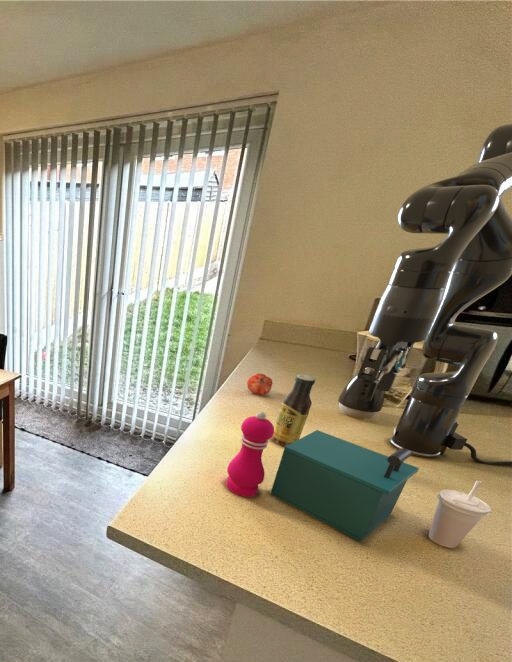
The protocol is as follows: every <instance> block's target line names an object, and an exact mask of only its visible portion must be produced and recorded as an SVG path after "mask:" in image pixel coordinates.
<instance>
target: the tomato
mask: <svg viewBox="0 0 512 662" xmlns="http://www.w3.org/2000/svg"><path fill="white" fill-rule="evenodd" d="M246 385H247V389H248V391H249V392H250V393H252V394H255V395H262V396H263V395H264V396H265V395H266V394H268V393H269V392H270V391H271V390H272V386H273V379H272V378H271V377H269V376H267V375H266V374H264V373H260V372H259V373H254V374H252V376H250V377H248V379H247V381H246Z"/></svg>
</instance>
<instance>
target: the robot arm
mask: <svg viewBox="0 0 512 662" xmlns="http://www.w3.org/2000/svg"><path fill="white" fill-rule="evenodd" d="M478 154H479V155H478V158H477V162H476V163H474V164H473V165H471V166H469V167H468V168H466V169H464V170H463V171H461V172H460V173H459V174H457V175H455V176H451V177H448V178H444V179H442V180H437V181H435V182H432V183H429V184H427V185H425V186H423V187H420V188H418V189H417V190H416V191H414V192H413V193H411V194H410V195H409V196H408V197H407V198H406V199H405V200H404V202H403V203H402V204H401V206H400V208H399V210H398V212H397V218H396V219H397V221H396V222H397V224H398V226H399V227H400V229H402V230H403V231H405V232H406V233H411V234H435V235H436V234H437V235H446V234H447V235H446V237H445V238H444V239H443V240H442V241H441V242H439V243H438V244H436V245H435V246H430V247H421V248H413V249H412V248H411V249H407V250H404V251H402V252H401V253H400V254H399V255H398V257H397V259H396V261H395V264H394V266H393V270H392V272H391V274H390V277H389V279H388V284H387V286H386V287H385V289H384V291H383V293H382V295H381V297H380V299H379V303H378V305H377V308H376V310H375V313H374V315H373V318H372V322H371V323H370V327H369V330H368V333H369V334H370V336H372V337H374V338H378V339H379V341H378V343H377V345H374V346H373V347H372V346H369V347H368V348H367V350H366V353H365V356H364V358H363V361H362V363H361V365H360V368H359V371H358V372H357V373H358V375H357V378H359V379H361V383H360V386H359V388H358V391H357V394H356V398H357V399H361V400H364V401H370V400H372V398H373V395H374V393H375V390H376V389H378V390H382V391H385V392H389V391H391V389H392V387H393V384H394V382H395V380H396V377H397V375H398V374H400V372H402V369H405V368H406V366H407V362H408V360H409V357H410V355H411V352H412V350H413V348H414V345H415V344H416V343H420V342H423V344H422V348H421V353H422V357H423V358H425V359H427V360H430V361H434V362H439V363H442V364H443V363H444V364H448V365H453V366H457V367H459V368H458V369H457V370H454V371H448V372H426V373H422V374H420V375H419V376H418V377H417V379H416V382H415V384H414V386H413V387H412V391H411V392H410V395H409V398H408V399H407V402H406V403H405V404H406V405H405V406H404V409H403V411H402V414H401V416H400V418H399V421H398V422H397V425H396V426H395V427H394V429H393V431H392V433H393V435H392V436H391V438H390V440H389V443H390V445H391V446H392V447H394V449H395V448H396V449H397V450H399V449H401V448H405V449H408V450H409V451H410V452H411V455H413V456H415V457H421V458H428V459H429V458H430V459H434V458H438V457H439V456H444V454H445V453H446V451H447V448H448V449H449V450H451V451H452V450H453V451H454V450H456V451H462V450H463V449H464V447H465V448H467V449H468V450H469V451H470V457H471V459H472V460H473V461H475V462H476V463H478V464H485V465H491V466H512V461H509V460H508V461H504V460H503V461H486V460H483V459H481V458H478V456H477V450H476V448H475V447H474V446H473V445H472V444H470V443H468V442H467V441H468V438H466V437H464V436H462V435H460V434H459V433H457V432H456V431H457V428H458V427H459V422H458V421H457V419H458V417H459V415H460V414H461V411H462V409H463V407H464V405H465V403H466V400H467V399H468V397H469V395H470V393H471V391H472V389H473V387H474V386H475V384H476V382H477V380H478V378H479V376H480V374H481V372H482V370H483V369H484V367H485V365H486V363H487V362H488V360H489V359H490V356H491V355H492V354H493V352H494V350H495V348H496V346H497V344H498V340H499V334H498V333H497V331H495V330H492V329H489V328H481V327H475V326H469V325H468V326H467V325H462V324H456V323H455V322H456V319H457V317H458V316H459V315H460V313H462V312H463V311H464V310H466V309H467V308H468V307H470V306H471V305H472V304H473V303H475V302H477V301H478V300H479V299H481V298H483V297H484V296H486V295H487V294H489V293H491V292H492V291H494V290H495V289H497V288H498V287H499V286H501V285H503V284H504V283H505V282H506V281H507V280H509V278H511V276H512V217H511V215H510V214H509V212H508V210H507V209H506V205H505V204H504V201H503V196H504V195H506V194H508V193H509V192H511V191H512V123H506V124H501V125H499V126H497V127H496V128H494V129H492V131H491V132H490V133H489V135H487V137H486V138H485V140H484V142H483V144H482V146H481V149H480V152H479V153H478ZM370 371H374V373H373V375H371V374H369V372H370Z"/></svg>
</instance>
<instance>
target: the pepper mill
mask: <svg viewBox="0 0 512 662" xmlns="http://www.w3.org/2000/svg"><path fill="white" fill-rule="evenodd" d="M240 431H241V433H242V434H241V435H240V437H241V438H240V443H241V447H240V449H239V452H238V453H237V454H236V455H235V456H234V457H233V458H232V459H231V460H230V461H229V463H228V465H227V468H226V471H227V475H228V476H227V478H226V482H225V485H226V488H227V489H228V490H229V491H230V492H231V493H233V494H235V495H238V496H241V497H245V498H250V497H251V498H252V497H254V496H256V495H257V494H258V491H259V485H261V484H262V483H263V482H264V480H265V468H264V465H263V462H262V456H263V451H264V450H265V449H266V448H267V447H268V444H269V440H270V439H271V437H272V436H273V434H274V424H273V422H272V421H270V420H269V419H267V413H265V411H258V412H256V414H255V415H253V416H249V417H247V418H245V419H244V420H243V421H242V423H241V425H240Z"/></svg>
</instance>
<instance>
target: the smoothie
mask: <svg viewBox="0 0 512 662" xmlns="http://www.w3.org/2000/svg"><path fill="white" fill-rule="evenodd" d="M481 483H482V481H481V480H475V483H474V484H473V487H472V488H471V490H470V492H469V493H466V492H463V491H459V490H456V489H455V490H454V489H443V490H440V491H439V493H438V494H437V496H436V497H437V500H438V501H437V504H436V507H435V511H434V515H433V518H432V521H431V524H430V529H429V532H428V538H429V539H430V541H432V542H434V543H435V544H437V545H440V546H442V547H445V548H449V549H454V548H456V547H457V546H458V545H459V544H460V543H461V542H462V541H463V540H464V538H465V537H466V536H467V535H468V534H469V533H470V532H471V530H473V528H474V527H476V525H477V524H478V523H479V522H480V521H481V520H482V518H484V517H487V516H488V515H489V514H490V512H491V507H490V505H488V503H486V502H485V501H483V500H482V499H480V498H478V497H476V496H475V494H476V493H477V490H479V487H480V486H481Z"/></svg>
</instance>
